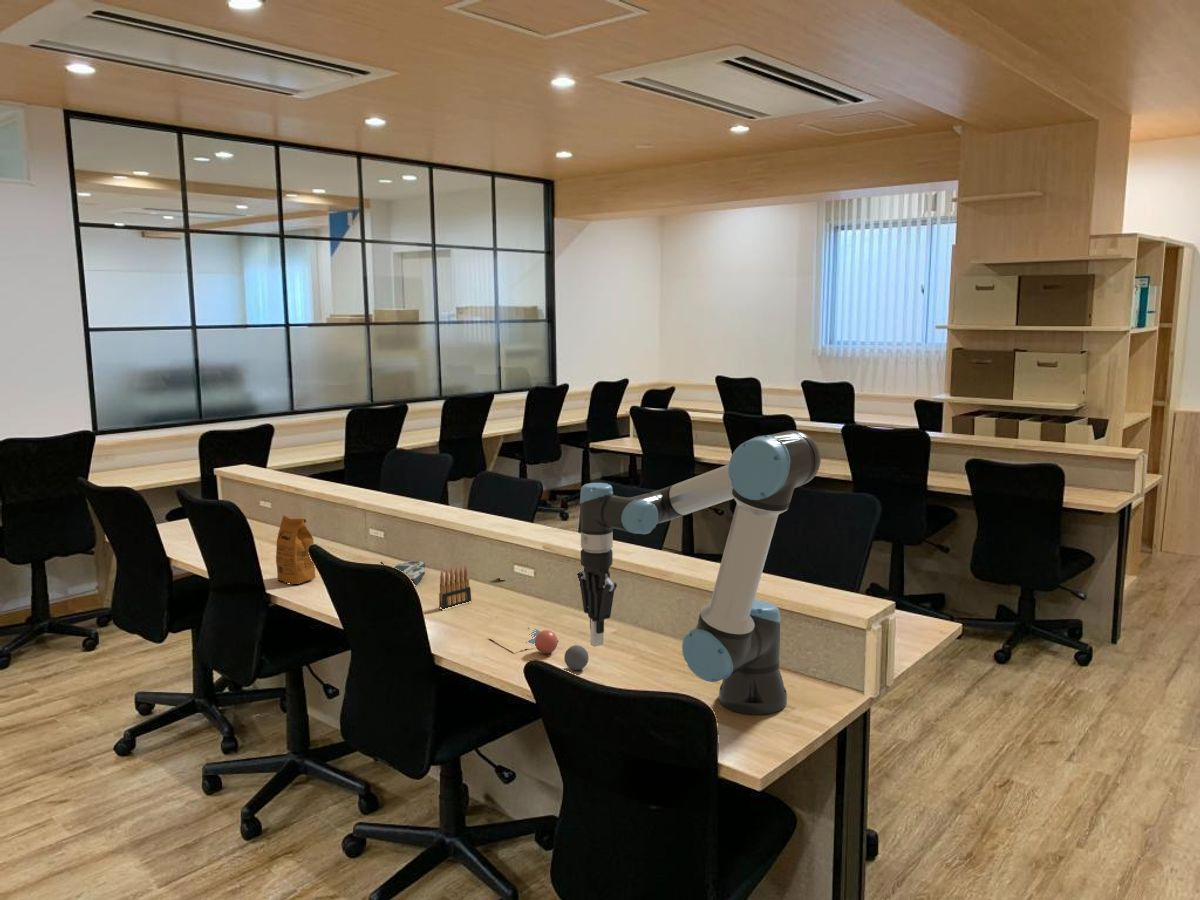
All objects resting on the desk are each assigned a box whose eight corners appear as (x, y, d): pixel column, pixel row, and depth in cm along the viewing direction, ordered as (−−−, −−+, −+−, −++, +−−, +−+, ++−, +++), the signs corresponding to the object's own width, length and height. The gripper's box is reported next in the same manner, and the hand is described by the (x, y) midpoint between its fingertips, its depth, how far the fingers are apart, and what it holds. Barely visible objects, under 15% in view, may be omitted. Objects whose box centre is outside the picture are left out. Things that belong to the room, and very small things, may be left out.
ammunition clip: (468, 601, 283) (466, 563, 281) (471, 602, 281) (470, 564, 280) (439, 609, 275) (437, 570, 273) (442, 610, 274) (441, 572, 272)
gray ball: (593, 670, 227) (593, 646, 226) (573, 675, 223) (572, 652, 222) (579, 662, 232) (579, 640, 231) (559, 668, 228) (559, 645, 227)
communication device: (435, 569, 320) (434, 545, 319) (416, 589, 297) (415, 563, 295) (402, 569, 321) (401, 544, 320) (380, 589, 298) (378, 562, 297)
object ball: (562, 653, 238) (561, 631, 237) (542, 658, 235) (542, 636, 234) (550, 646, 243) (549, 625, 242) (530, 652, 239) (530, 630, 238)
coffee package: (298, 574, 315) (294, 511, 312) (320, 580, 308) (315, 516, 304) (272, 581, 308) (268, 517, 304) (294, 587, 300) (289, 521, 297)
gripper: (567, 545, 218) (568, 640, 222) (599, 557, 207) (600, 656, 211) (593, 540, 222) (594, 633, 226) (626, 552, 212) (626, 649, 216)
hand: (596, 644), depth 219 cm, fingers closed
